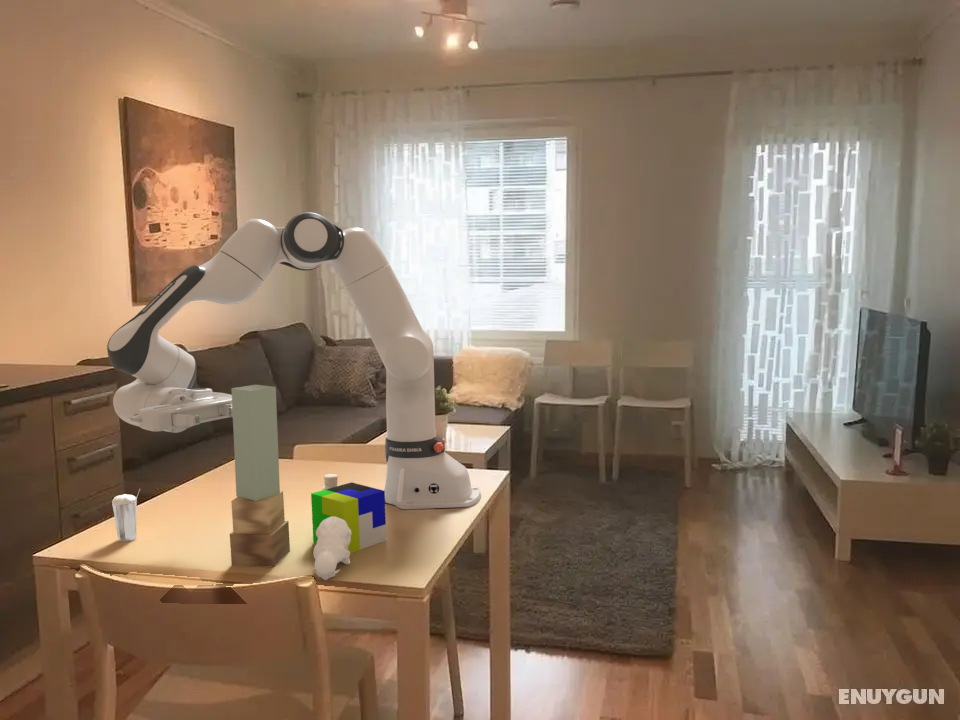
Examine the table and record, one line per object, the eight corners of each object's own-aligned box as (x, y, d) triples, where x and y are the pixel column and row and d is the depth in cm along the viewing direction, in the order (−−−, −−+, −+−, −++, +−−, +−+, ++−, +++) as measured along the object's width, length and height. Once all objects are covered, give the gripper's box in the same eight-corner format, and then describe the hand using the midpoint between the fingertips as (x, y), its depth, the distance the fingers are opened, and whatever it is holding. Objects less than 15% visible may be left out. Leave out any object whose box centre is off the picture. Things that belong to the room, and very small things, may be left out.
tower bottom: (290, 551, 157) (288, 521, 156) (273, 567, 149) (271, 535, 148) (249, 550, 158) (248, 520, 157) (231, 566, 150) (229, 534, 149)
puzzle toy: (386, 540, 162) (384, 490, 161) (346, 554, 154) (344, 502, 153) (353, 530, 168) (351, 482, 167) (313, 543, 161) (311, 493, 160)
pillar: (260, 489, 156) (255, 384, 154) (279, 494, 153) (275, 386, 150) (236, 496, 152) (231, 388, 149) (256, 501, 148) (251, 390, 146)
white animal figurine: (351, 512, 151) (340, 541, 139) (354, 555, 153) (343, 587, 141) (317, 513, 151) (302, 541, 139) (320, 556, 153) (306, 588, 141)
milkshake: (145, 539, 165) (141, 491, 164) (116, 544, 162) (112, 495, 161) (142, 533, 169) (138, 485, 168) (113, 538, 166) (109, 489, 165)
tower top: (284, 521, 156) (283, 490, 155) (270, 534, 149) (268, 501, 148) (249, 520, 157) (247, 490, 156) (233, 533, 150) (231, 501, 149)
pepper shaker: (328, 522, 174) (325, 471, 172) (351, 524, 172) (349, 472, 170) (314, 530, 169) (312, 477, 167) (338, 532, 167) (335, 479, 165)
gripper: (123, 401, 155) (168, 408, 147) (214, 387, 172) (258, 392, 164) (125, 434, 156) (170, 443, 148) (215, 417, 172) (260, 423, 165)
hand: (217, 416), depth 156 cm, fingers open, 8 cm apart
